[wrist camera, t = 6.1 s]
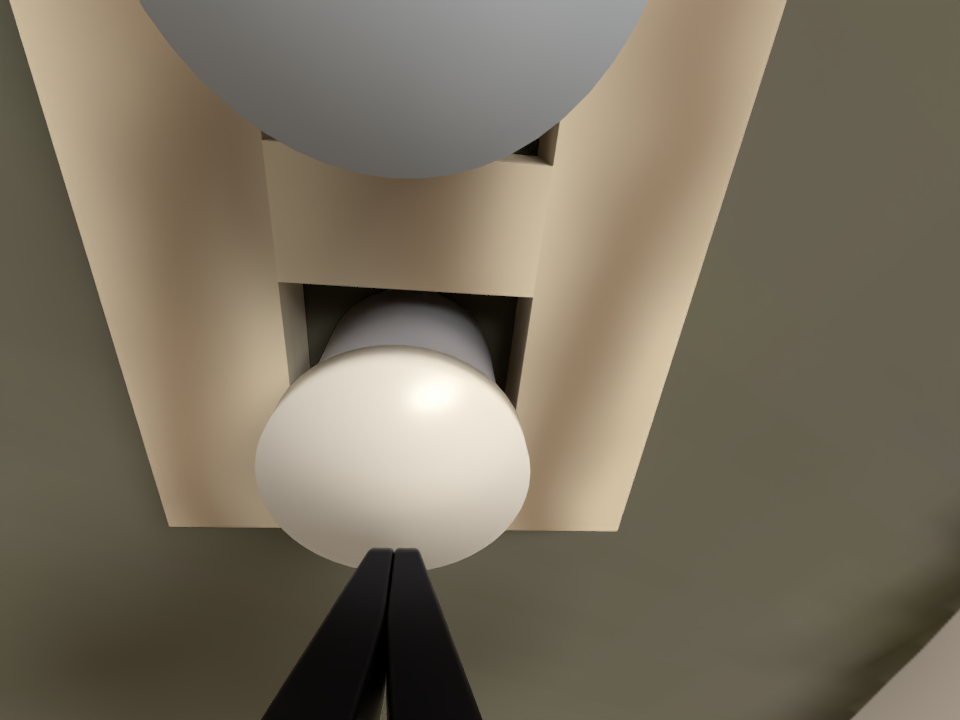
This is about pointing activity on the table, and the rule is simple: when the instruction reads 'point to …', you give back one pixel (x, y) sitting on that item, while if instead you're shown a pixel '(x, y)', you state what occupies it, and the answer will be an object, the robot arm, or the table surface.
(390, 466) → the button ivory
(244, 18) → the button grey
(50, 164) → the table surface
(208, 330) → the button board
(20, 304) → the table surface
